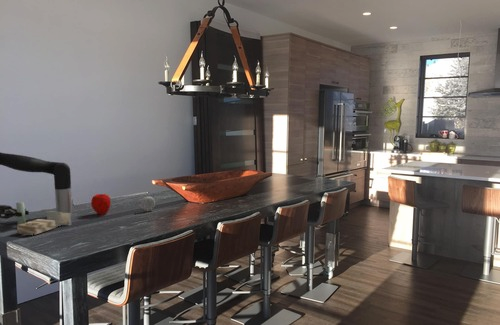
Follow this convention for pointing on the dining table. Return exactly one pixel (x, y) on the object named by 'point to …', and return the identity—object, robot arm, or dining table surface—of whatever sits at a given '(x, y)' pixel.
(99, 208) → the apple
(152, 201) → the donut
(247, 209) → the dining table surface
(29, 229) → the socket block
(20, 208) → the dowel
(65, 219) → the rail base
